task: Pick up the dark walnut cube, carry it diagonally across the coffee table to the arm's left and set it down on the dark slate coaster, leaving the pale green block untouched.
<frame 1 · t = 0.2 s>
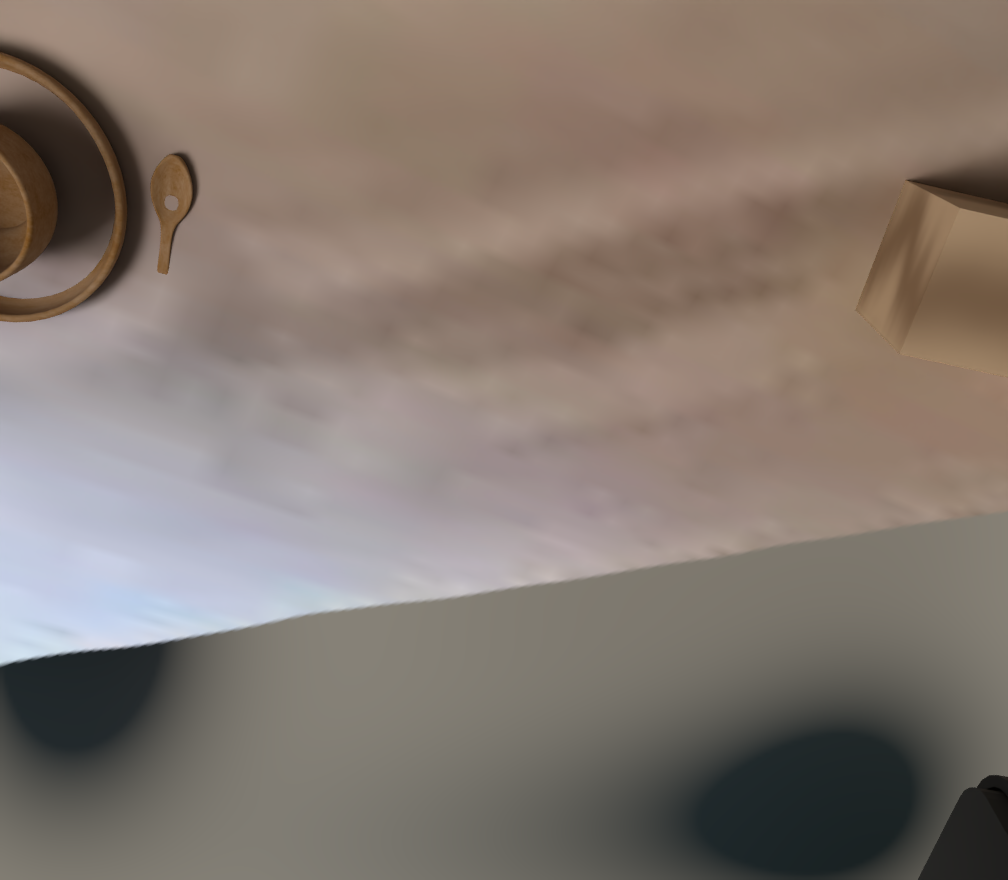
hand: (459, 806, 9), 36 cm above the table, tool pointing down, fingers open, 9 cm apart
walnut cube: (942, 260, 43), on the table
place setting: (8, 92, 42), on the table
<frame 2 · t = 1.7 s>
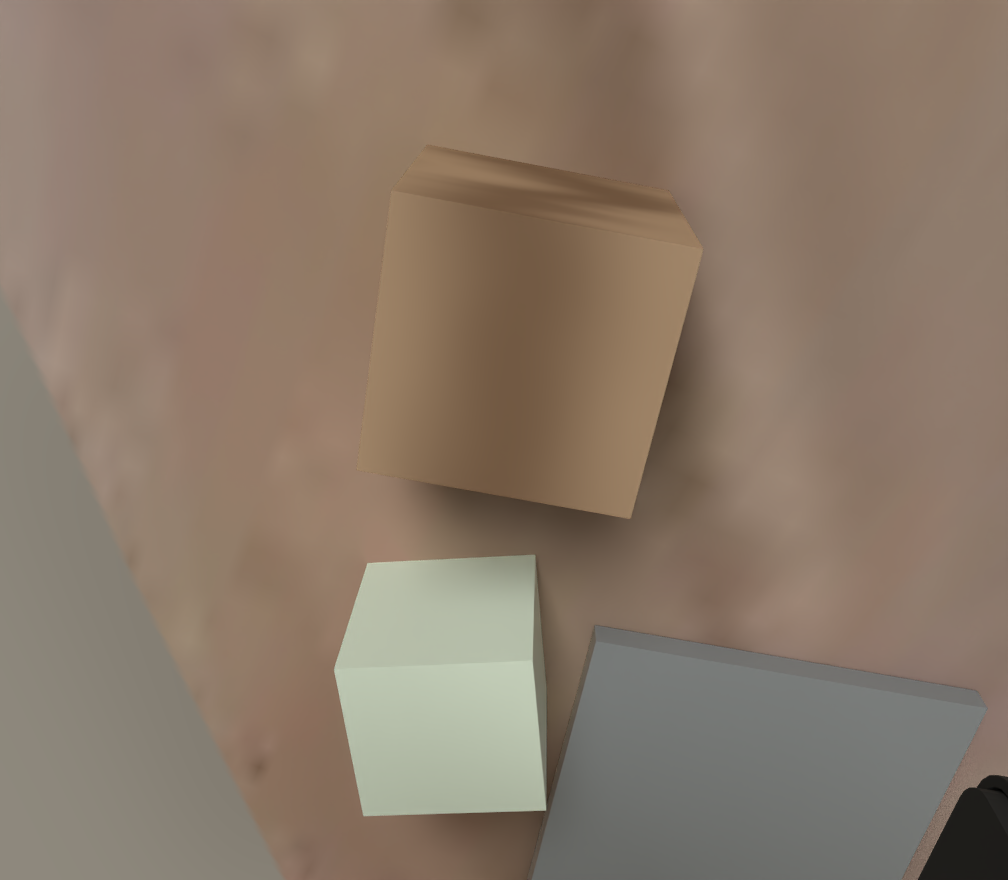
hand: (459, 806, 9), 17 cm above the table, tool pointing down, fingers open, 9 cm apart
pale green block: (460, 626, 29), on the table
walnut cube: (526, 284, 25), on the table
slate coaster: (733, 801, 32), on the table
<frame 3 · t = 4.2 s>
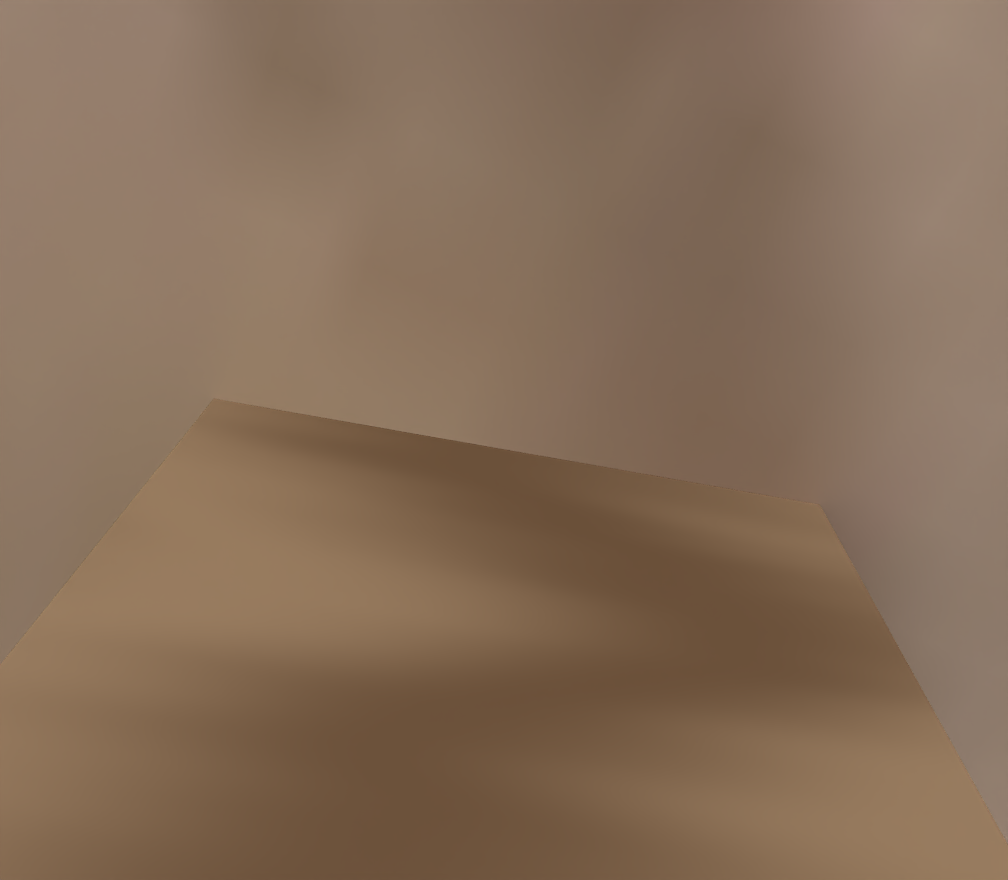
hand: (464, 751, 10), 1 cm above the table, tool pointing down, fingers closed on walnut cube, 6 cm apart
walnut cube: (471, 692, 11), on the table, touching gripper
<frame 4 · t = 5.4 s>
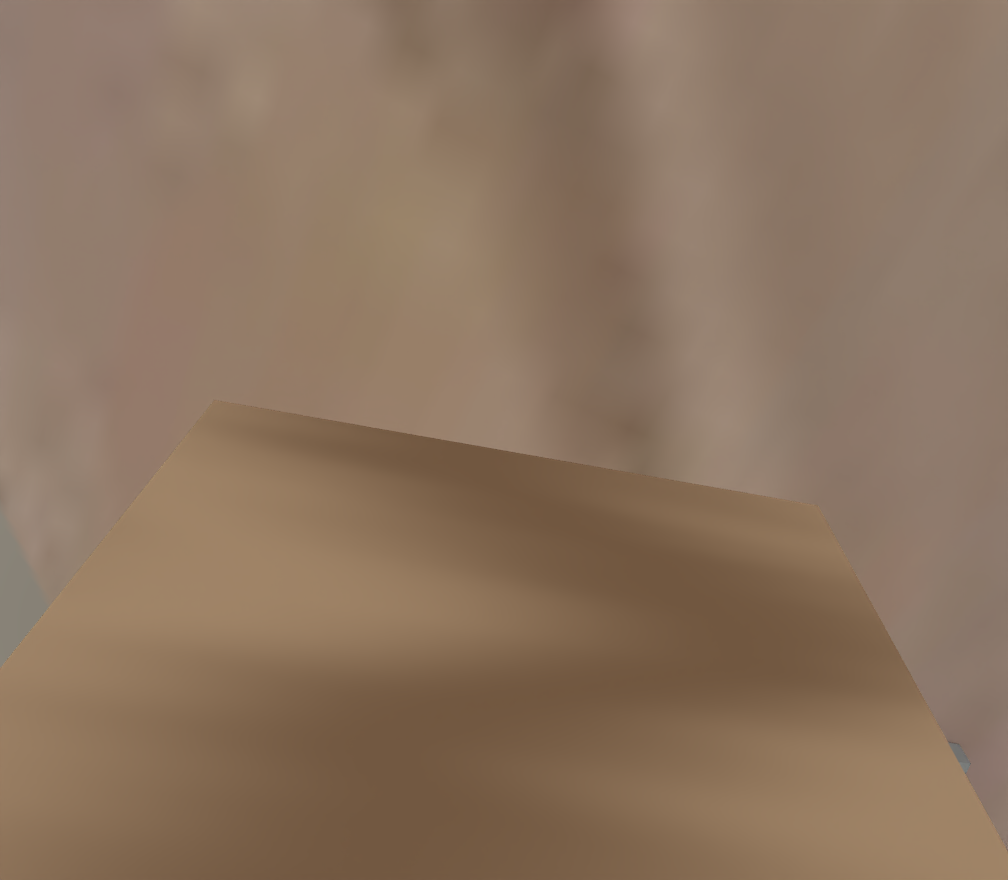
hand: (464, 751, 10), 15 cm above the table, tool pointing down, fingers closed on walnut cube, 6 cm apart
walnut cube: (471, 692, 11), point 14 cm above the table, touching gripper
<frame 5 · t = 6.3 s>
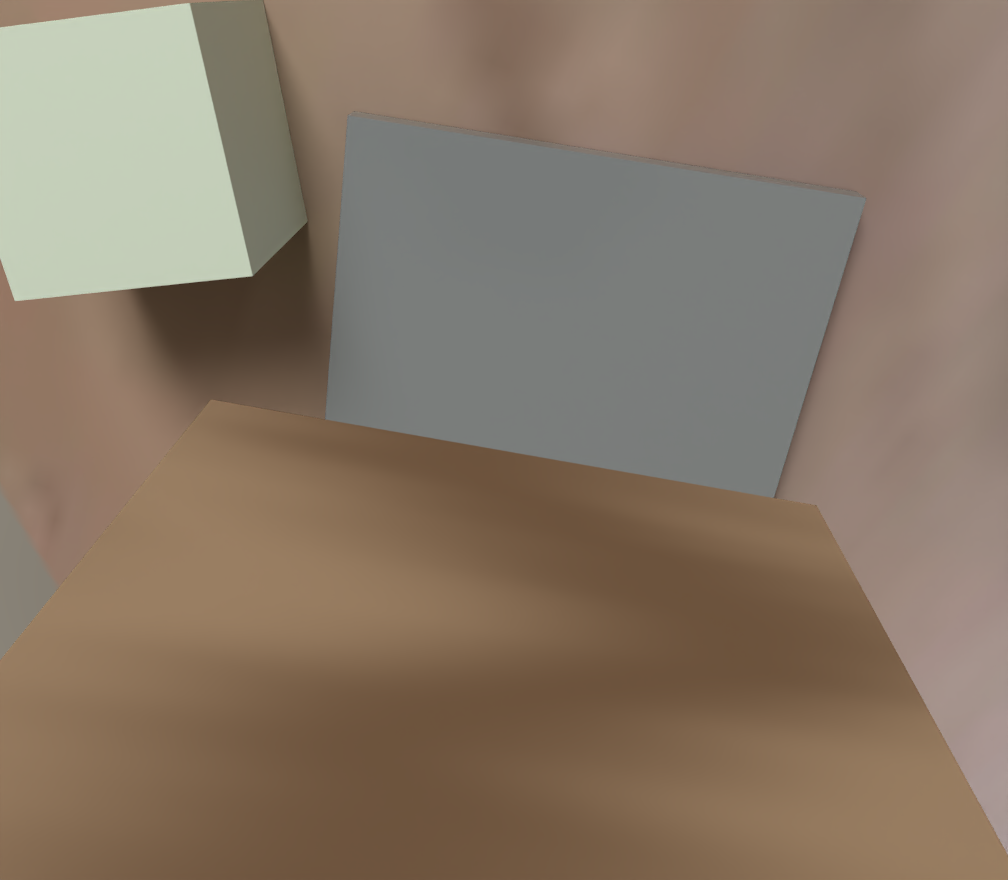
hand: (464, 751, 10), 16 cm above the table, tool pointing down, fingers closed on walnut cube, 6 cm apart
pale green block: (184, 127, 23), on the table
walnut cube: (468, 693, 11), point 15 cm above the table, touching gripper
slate coaster: (562, 385, 25), on the table
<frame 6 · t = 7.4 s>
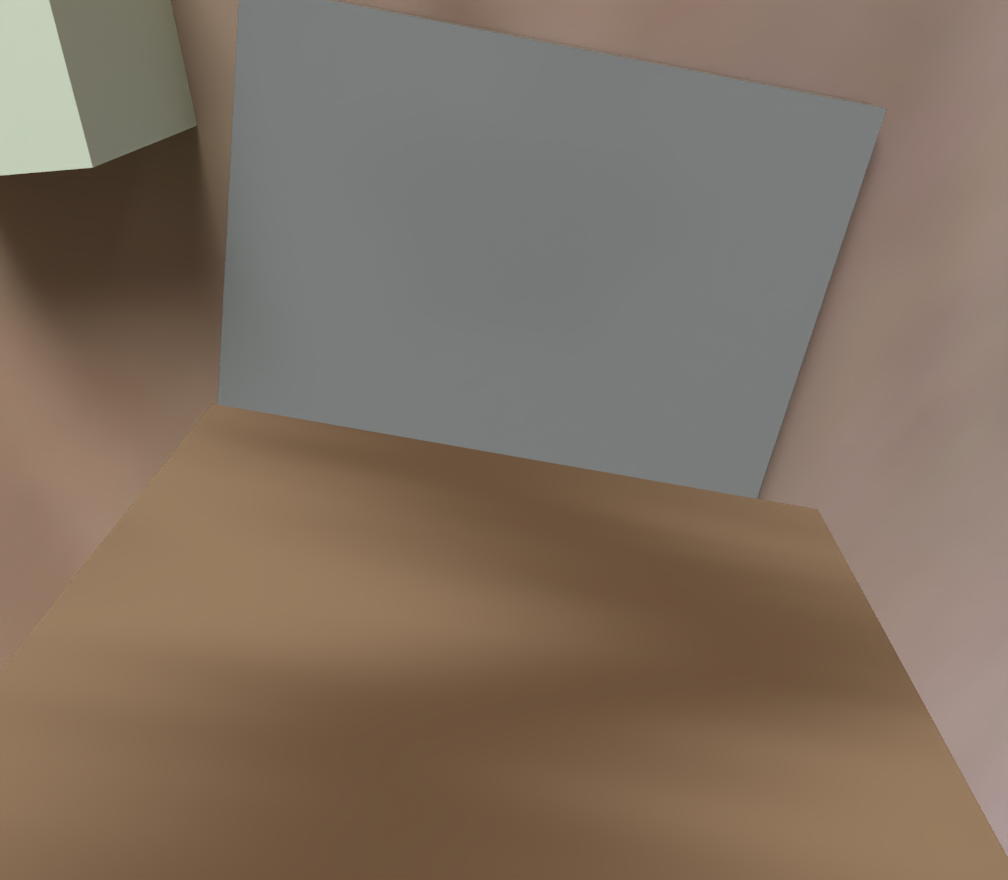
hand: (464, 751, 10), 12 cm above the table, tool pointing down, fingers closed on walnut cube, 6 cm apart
walnut cube: (470, 696, 11), point 11 cm above the table, touching gripper
slate coaster: (510, 339, 21), on the table
when the fingers open (3 cm above the table, at t = 9.8 s): walnut cube drops 1 cm, resting on slate coaster.
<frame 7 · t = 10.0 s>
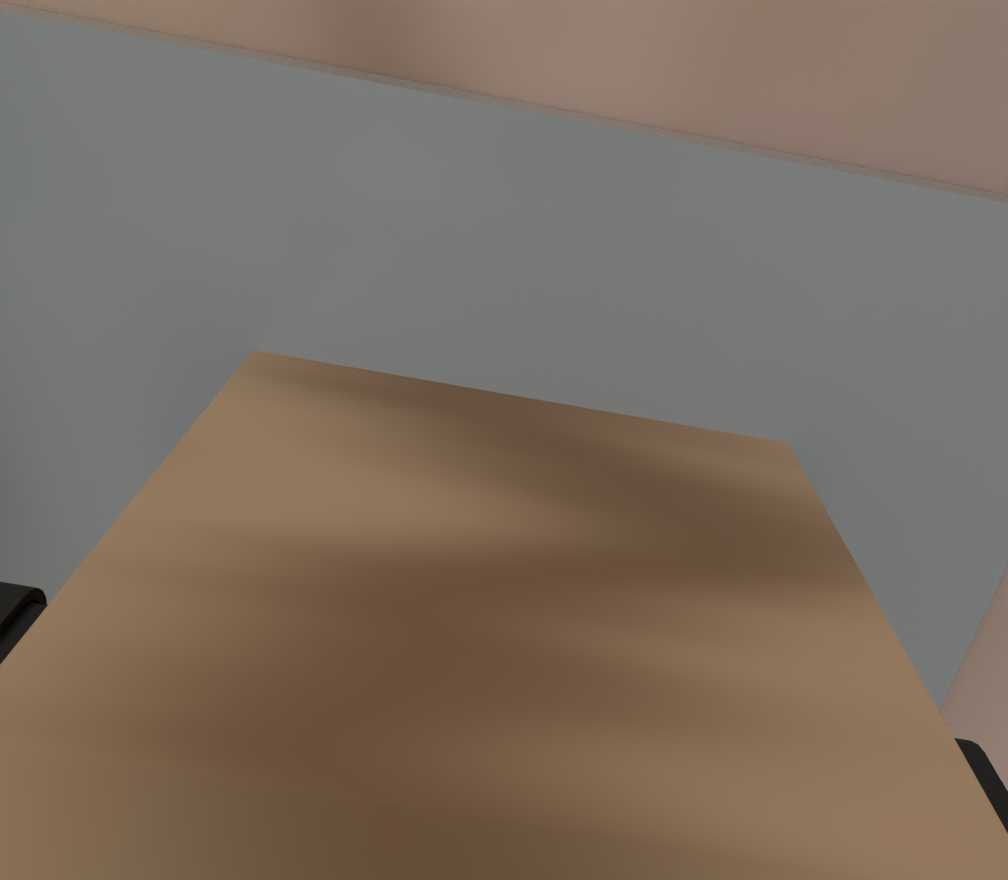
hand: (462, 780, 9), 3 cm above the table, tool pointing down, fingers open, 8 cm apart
walnut cube: (480, 618, 12), point 1 cm above the table, touching slate coaster
slate coaster: (480, 585, 13), on the table
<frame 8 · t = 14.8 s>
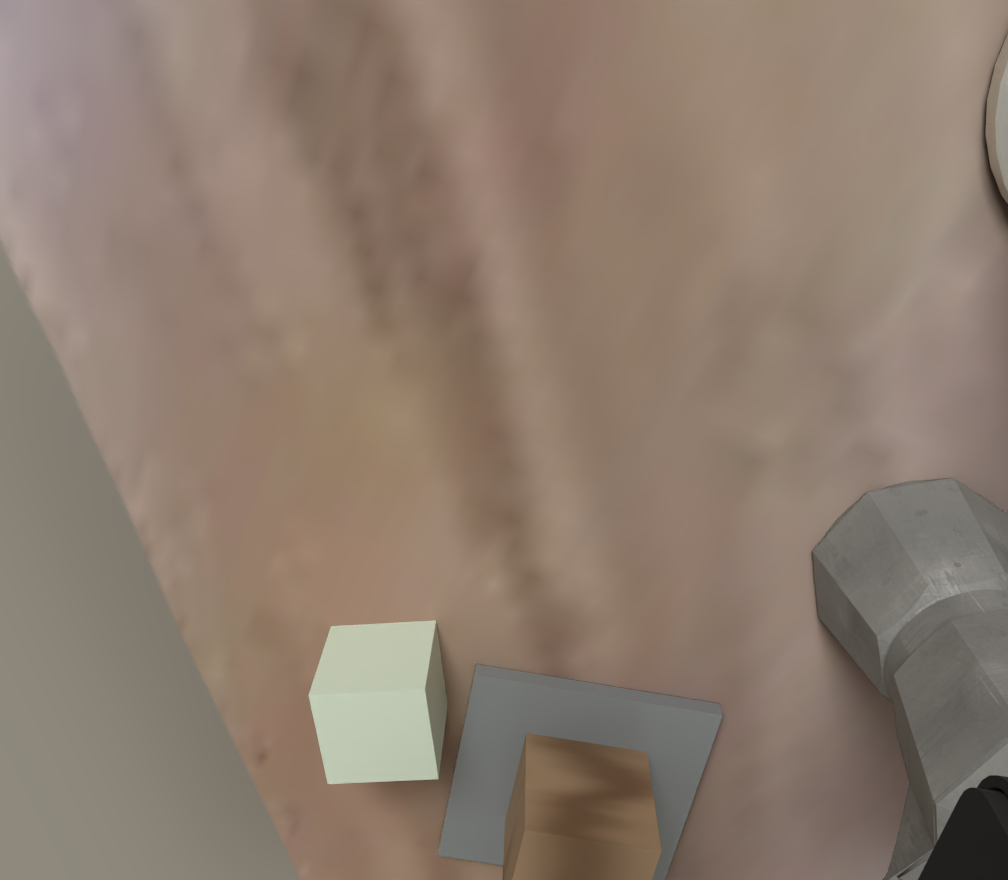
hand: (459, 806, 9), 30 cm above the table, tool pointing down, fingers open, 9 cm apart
pale green block: (390, 665, 46), on the table
coffeepot: (932, 551, 43), on the table
walnut cube: (574, 788, 48), point 1 cm above the table, touching slate coaster
slate coaster: (573, 776, 49), on the table
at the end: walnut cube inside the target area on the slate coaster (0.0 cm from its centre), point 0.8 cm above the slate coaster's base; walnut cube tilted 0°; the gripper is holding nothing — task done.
